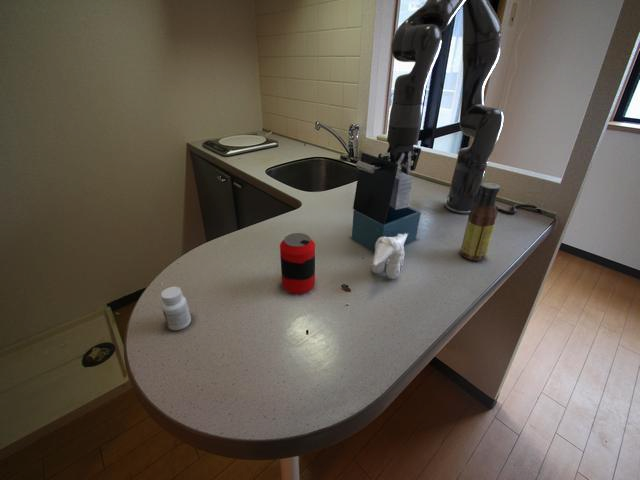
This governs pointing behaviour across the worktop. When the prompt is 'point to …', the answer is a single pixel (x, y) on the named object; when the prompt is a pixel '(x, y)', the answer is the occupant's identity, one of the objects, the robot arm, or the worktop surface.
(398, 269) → the dinosaur statue
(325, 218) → the worktop surface
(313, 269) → the soda can
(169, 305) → the pill bottle
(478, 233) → the sauce bottle
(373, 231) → the blue box
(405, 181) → the medicine box
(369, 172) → the black box lid
